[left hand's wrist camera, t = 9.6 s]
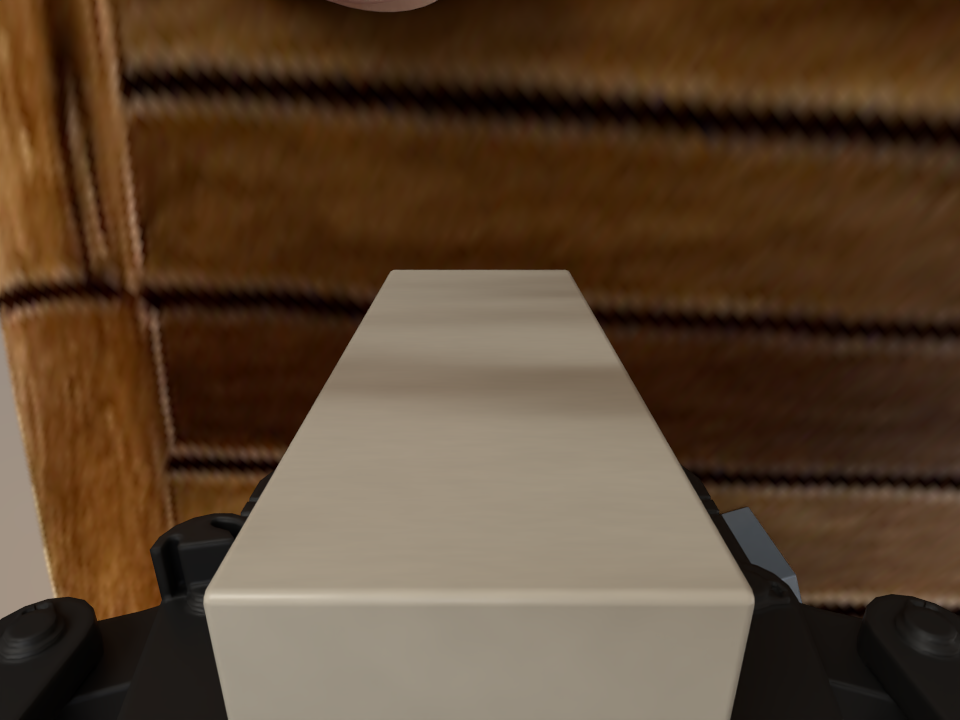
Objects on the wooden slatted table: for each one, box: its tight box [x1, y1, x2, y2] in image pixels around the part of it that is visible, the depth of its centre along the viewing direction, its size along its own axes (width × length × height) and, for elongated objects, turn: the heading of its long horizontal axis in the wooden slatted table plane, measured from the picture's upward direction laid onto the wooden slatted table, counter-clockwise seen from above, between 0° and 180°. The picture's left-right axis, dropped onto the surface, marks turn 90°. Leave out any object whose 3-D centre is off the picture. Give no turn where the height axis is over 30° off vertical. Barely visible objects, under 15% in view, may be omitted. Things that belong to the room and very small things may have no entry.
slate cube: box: [721, 507, 802, 603], centre depth 29 cm, size 5×5×5 cm
